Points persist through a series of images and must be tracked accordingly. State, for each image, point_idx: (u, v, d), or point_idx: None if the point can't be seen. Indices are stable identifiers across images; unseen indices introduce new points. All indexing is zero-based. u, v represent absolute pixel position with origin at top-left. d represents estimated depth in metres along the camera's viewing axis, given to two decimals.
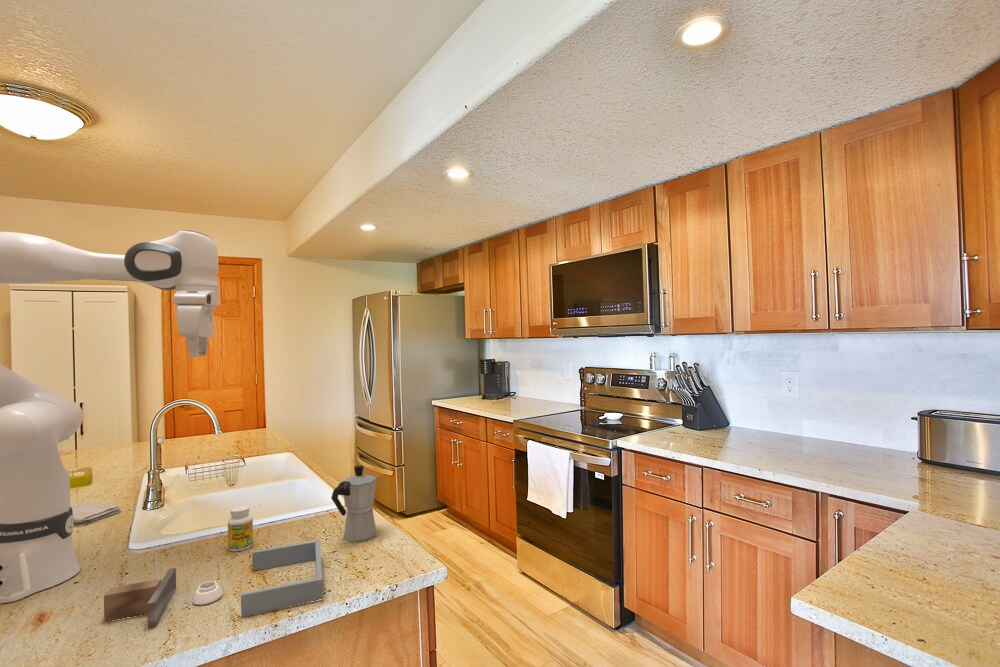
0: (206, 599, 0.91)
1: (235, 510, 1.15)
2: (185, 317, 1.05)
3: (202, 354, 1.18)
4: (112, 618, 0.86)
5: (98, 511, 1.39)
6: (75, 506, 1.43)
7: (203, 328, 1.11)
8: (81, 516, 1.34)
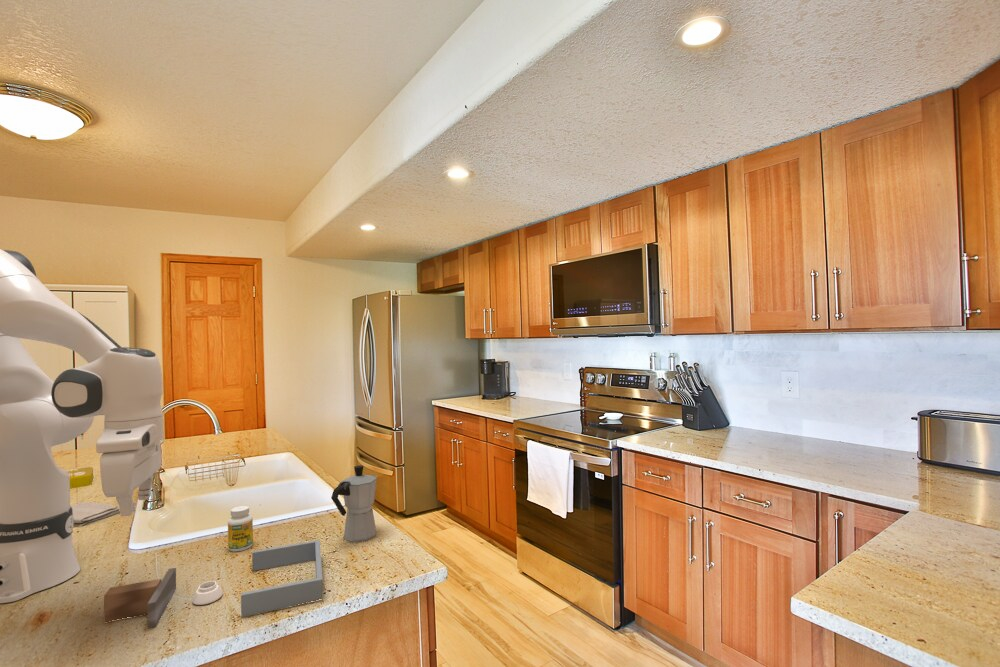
0: (206, 599, 0.91)
1: (235, 510, 1.15)
2: (112, 472, 0.80)
3: (144, 497, 0.93)
4: (112, 618, 0.86)
5: (97, 511, 1.38)
6: (75, 506, 1.43)
7: (140, 475, 0.87)
8: (80, 516, 1.34)
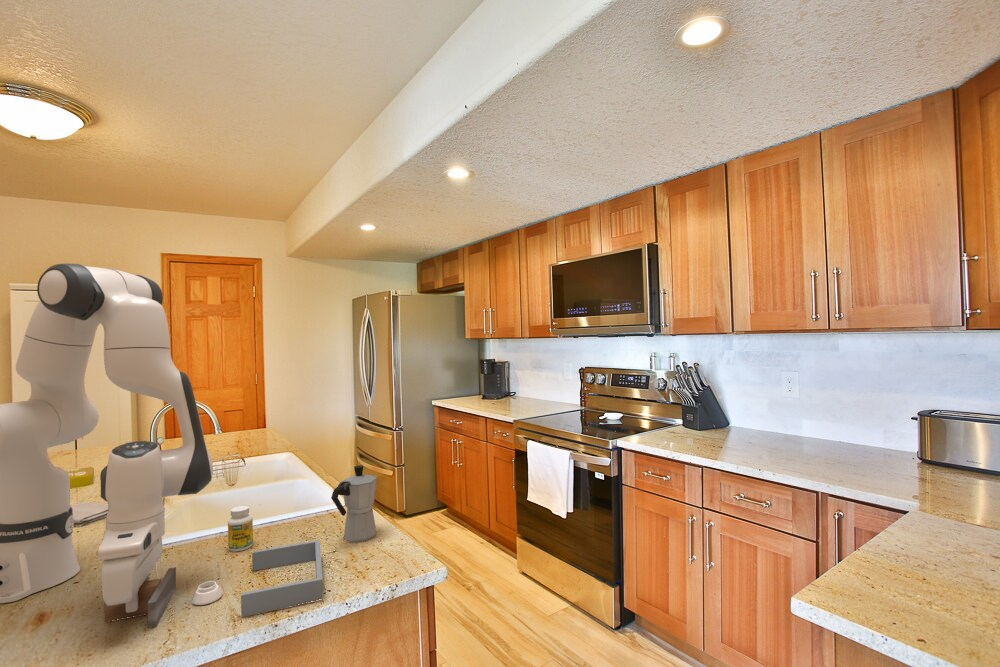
0: (206, 599, 0.91)
1: (235, 510, 1.15)
2: (113, 580, 0.80)
3: None
4: (112, 618, 0.86)
5: (97, 511, 1.38)
6: (75, 506, 1.43)
7: (141, 575, 0.86)
8: (80, 516, 1.34)
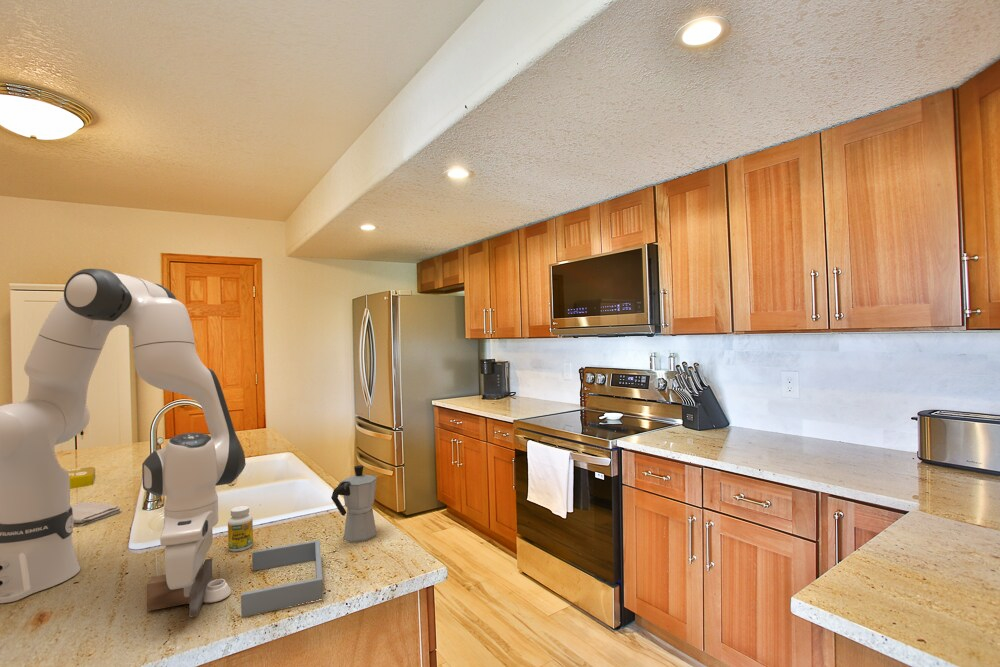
0: (215, 597, 0.92)
1: (235, 510, 1.15)
2: (176, 565, 0.83)
3: None
4: (154, 606, 0.89)
5: (98, 511, 1.39)
6: (75, 506, 1.43)
7: (198, 561, 0.90)
8: (81, 516, 1.34)
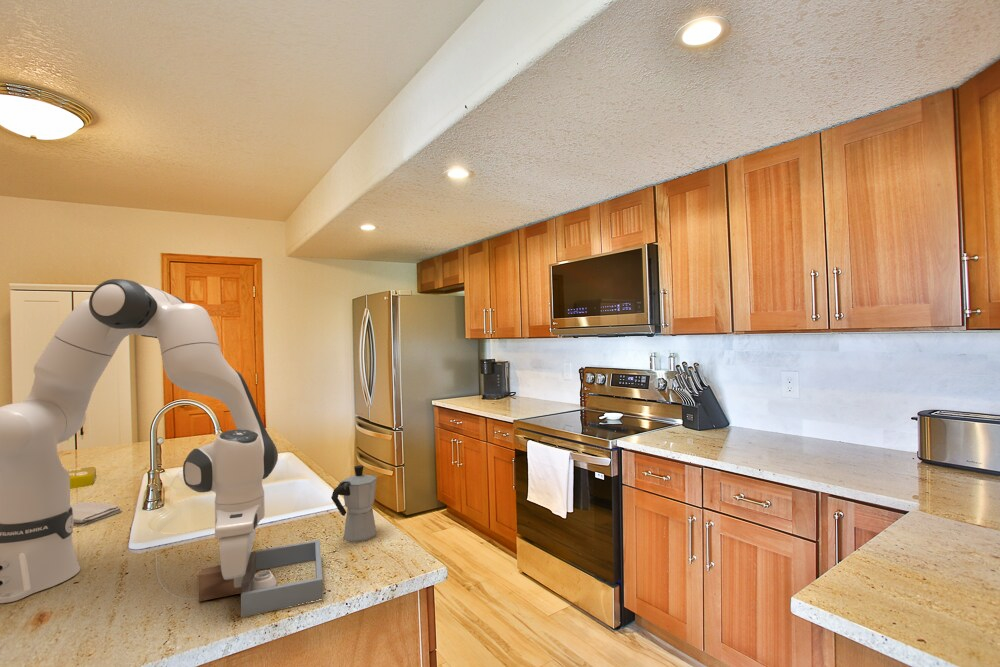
0: (264, 587, 0.95)
1: None
2: (230, 556, 0.86)
3: None
4: (205, 597, 0.92)
5: (99, 511, 1.39)
6: (75, 506, 1.43)
7: (248, 553, 0.93)
8: (82, 516, 1.34)
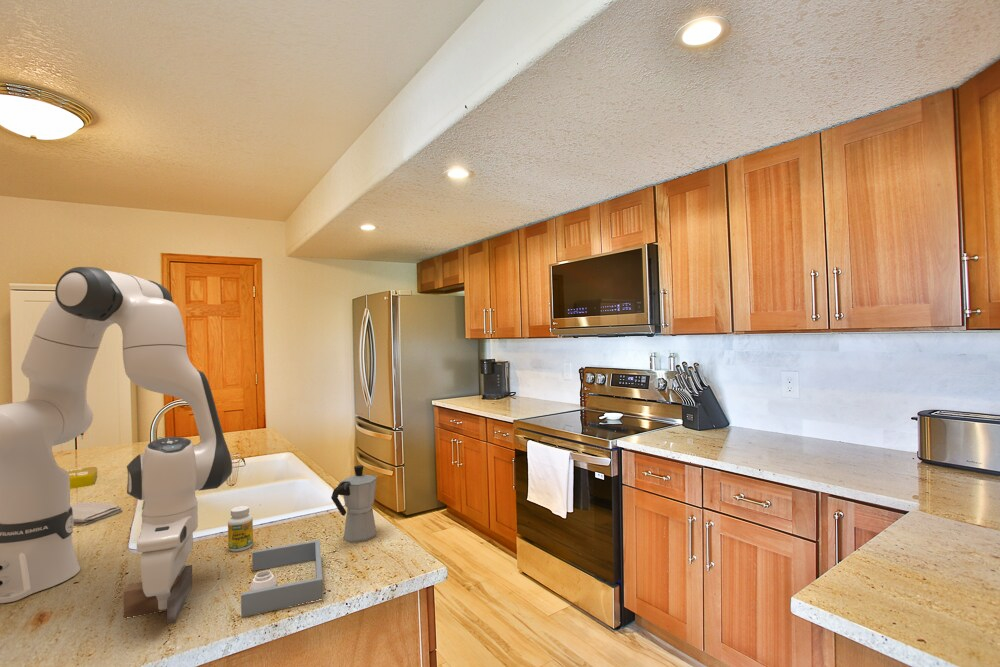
0: (264, 587, 0.95)
1: (235, 510, 1.15)
2: (152, 572, 0.82)
3: None
4: (131, 614, 0.88)
5: (100, 511, 1.39)
6: (75, 506, 1.43)
7: (177, 567, 0.88)
8: (84, 516, 1.35)
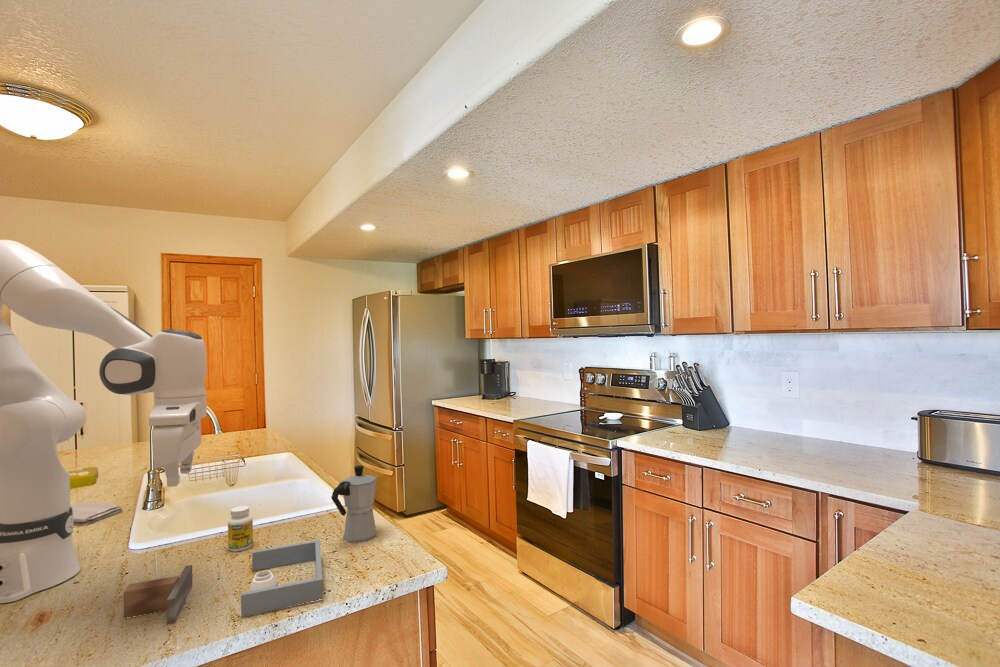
0: (264, 587, 0.95)
1: (235, 510, 1.15)
2: (163, 444, 0.86)
3: (186, 471, 0.99)
4: (131, 614, 0.88)
5: (100, 510, 1.39)
6: (75, 506, 1.43)
7: (186, 449, 0.92)
8: (84, 516, 1.35)
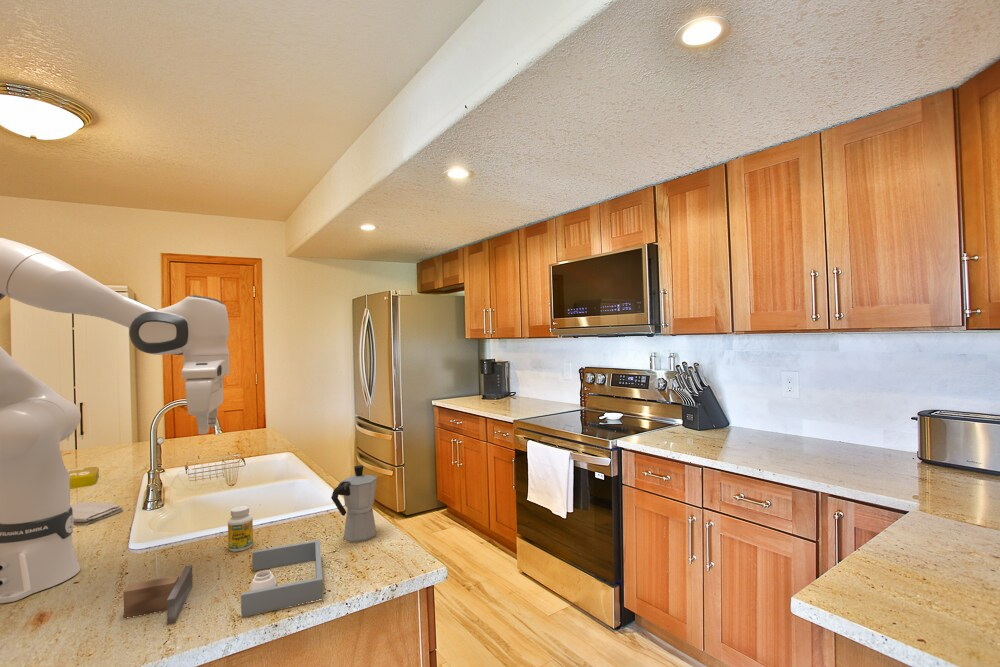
0: (264, 587, 0.95)
1: (235, 510, 1.15)
2: (195, 394, 0.97)
3: (212, 425, 1.10)
4: (131, 614, 0.88)
5: (101, 510, 1.39)
6: (75, 506, 1.43)
7: (213, 401, 1.03)
8: (85, 515, 1.35)
